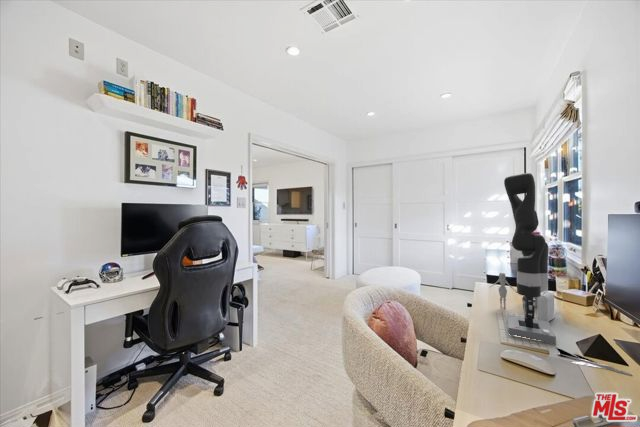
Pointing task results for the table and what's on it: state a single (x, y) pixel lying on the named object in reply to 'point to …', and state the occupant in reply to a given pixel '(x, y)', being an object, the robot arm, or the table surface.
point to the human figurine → (502, 288)
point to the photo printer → (545, 306)
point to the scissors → (588, 361)
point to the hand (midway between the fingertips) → (528, 325)
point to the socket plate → (531, 329)
